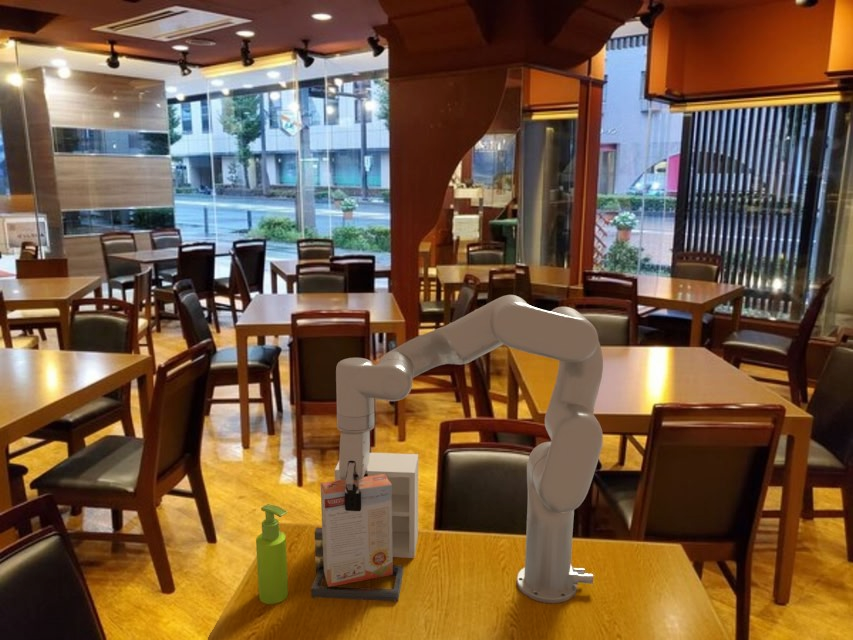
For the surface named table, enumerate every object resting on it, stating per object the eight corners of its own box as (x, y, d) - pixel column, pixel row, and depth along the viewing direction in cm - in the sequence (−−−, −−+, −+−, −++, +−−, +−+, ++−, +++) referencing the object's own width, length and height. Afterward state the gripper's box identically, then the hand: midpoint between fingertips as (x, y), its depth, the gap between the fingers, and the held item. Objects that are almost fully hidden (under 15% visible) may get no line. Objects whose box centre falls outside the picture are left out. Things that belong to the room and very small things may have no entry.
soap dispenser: (278, 609, 128) (274, 518, 124) (252, 598, 131) (248, 509, 127) (297, 593, 133) (294, 505, 129) (272, 583, 136) (268, 497, 132)
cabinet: (417, 534, 156) (418, 454, 152) (414, 558, 146) (414, 472, 142) (345, 531, 157) (343, 451, 153) (336, 554, 147) (334, 469, 143)
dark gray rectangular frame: (403, 572, 141) (403, 531, 139) (398, 601, 131) (398, 557, 129) (318, 568, 142) (316, 527, 140) (306, 596, 132) (305, 553, 130)
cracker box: (386, 560, 140) (385, 472, 136) (393, 576, 135) (393, 484, 130) (322, 571, 136) (319, 480, 132) (327, 588, 130) (324, 494, 126)
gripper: (345, 404, 137) (346, 480, 141) (327, 435, 120) (329, 521, 124) (380, 405, 137) (380, 482, 140) (367, 436, 120) (368, 522, 123)
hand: (356, 499), depth 132 cm, fingers closed on cracker box, 7 cm apart
